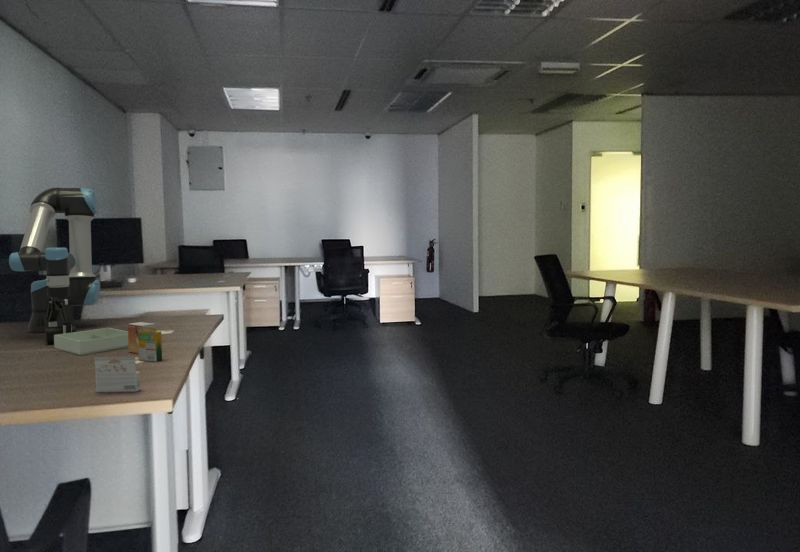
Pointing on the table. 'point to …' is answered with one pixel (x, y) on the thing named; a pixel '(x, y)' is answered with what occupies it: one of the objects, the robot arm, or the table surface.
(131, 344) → the small box
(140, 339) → the crayon box
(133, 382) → the ink cartridge box
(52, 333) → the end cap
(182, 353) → the table surface
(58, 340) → the organizer tray
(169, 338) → the table surface
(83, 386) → the table surface
